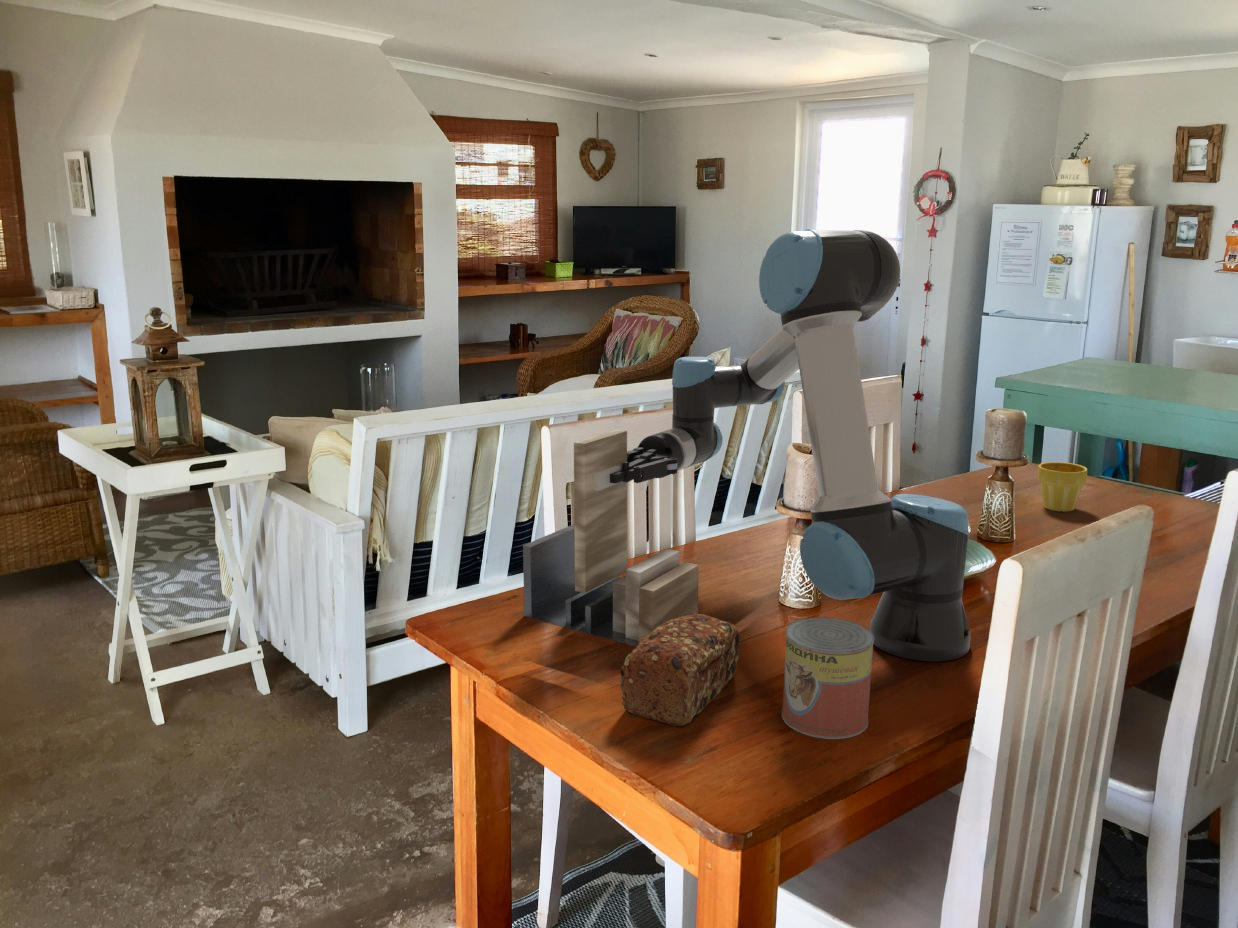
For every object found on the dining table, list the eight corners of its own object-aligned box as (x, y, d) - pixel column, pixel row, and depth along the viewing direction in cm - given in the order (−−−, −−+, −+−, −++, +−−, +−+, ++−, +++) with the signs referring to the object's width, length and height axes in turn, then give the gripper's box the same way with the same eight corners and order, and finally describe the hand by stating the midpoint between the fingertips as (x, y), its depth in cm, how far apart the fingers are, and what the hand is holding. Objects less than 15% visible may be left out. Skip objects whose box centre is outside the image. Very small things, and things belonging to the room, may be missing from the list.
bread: (688, 732, 130) (689, 660, 127) (615, 713, 135) (615, 644, 132) (741, 676, 146) (744, 612, 143) (675, 661, 151) (676, 598, 148)
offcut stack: (697, 617, 163) (699, 553, 160) (652, 647, 151) (653, 578, 149) (652, 606, 167) (653, 543, 165) (605, 634, 156) (605, 567, 153)
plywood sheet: (626, 571, 168) (627, 430, 162) (585, 593, 158) (584, 443, 153) (616, 569, 169) (616, 429, 163) (575, 590, 159) (573, 442, 154)
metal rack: (707, 625, 163) (709, 546, 160) (656, 660, 150) (657, 575, 147) (581, 594, 177) (580, 521, 173) (524, 624, 164) (522, 545, 160)
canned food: (764, 712, 135) (767, 629, 132) (823, 690, 141) (827, 610, 138) (826, 748, 126) (831, 659, 123) (886, 723, 132) (892, 638, 129)
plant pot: (1026, 507, 232) (1030, 466, 230) (1046, 499, 239) (1050, 459, 236) (1071, 517, 224) (1075, 474, 222) (1090, 508, 231) (1095, 467, 229)
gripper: (703, 479, 173) (629, 511, 153) (628, 468, 181) (550, 497, 161) (703, 437, 171) (629, 463, 152) (629, 427, 179) (549, 451, 160)
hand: (588, 481), depth 157 cm, fingers closed on plywood sheet, 2 cm apart
